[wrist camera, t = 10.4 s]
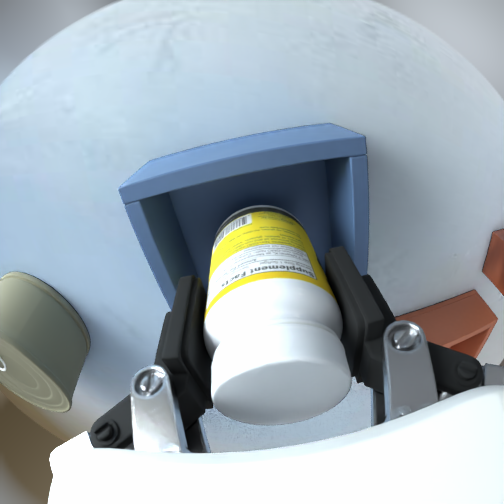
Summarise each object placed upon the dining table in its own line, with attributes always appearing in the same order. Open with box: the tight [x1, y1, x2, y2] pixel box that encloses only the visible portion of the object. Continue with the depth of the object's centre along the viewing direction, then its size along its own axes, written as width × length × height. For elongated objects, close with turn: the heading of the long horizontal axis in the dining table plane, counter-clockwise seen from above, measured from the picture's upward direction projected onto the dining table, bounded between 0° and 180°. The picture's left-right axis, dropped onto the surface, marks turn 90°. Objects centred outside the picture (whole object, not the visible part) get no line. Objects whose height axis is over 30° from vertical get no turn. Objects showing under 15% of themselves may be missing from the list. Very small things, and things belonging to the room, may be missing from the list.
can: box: [0, 272, 90, 412], centre depth 17 cm, size 12×12×7 cm
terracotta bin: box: [395, 290, 498, 358], centre depth 22 cm, size 11×11×5 cm
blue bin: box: [118, 123, 369, 311], centre depth 14 cm, size 10×10×5 cm
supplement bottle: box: [203, 205, 352, 425], centre depth 10 cm, size 5×5×8 cm
